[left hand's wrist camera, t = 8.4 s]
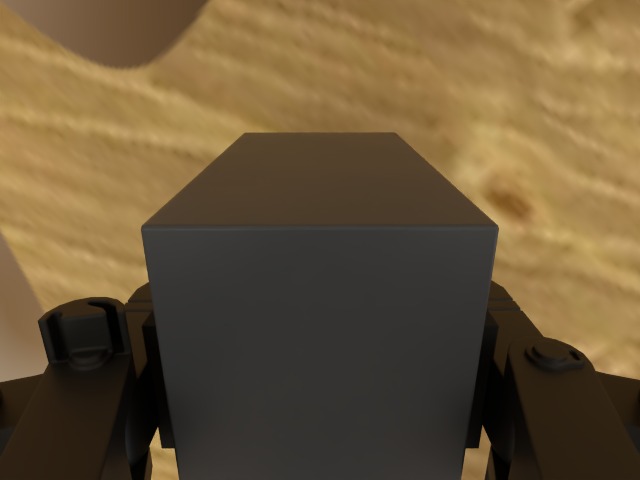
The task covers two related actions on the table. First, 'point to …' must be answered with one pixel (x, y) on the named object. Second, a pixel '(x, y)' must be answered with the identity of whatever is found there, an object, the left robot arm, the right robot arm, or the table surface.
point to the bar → (320, 311)
